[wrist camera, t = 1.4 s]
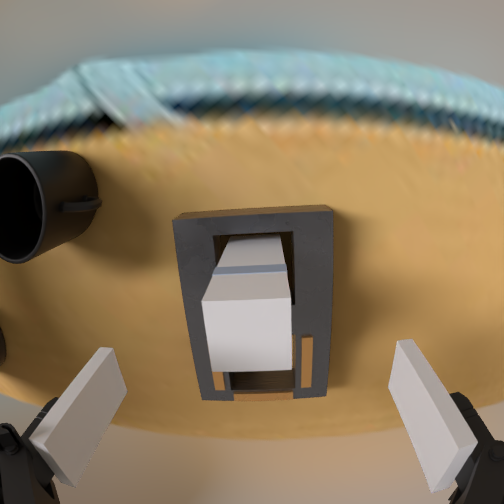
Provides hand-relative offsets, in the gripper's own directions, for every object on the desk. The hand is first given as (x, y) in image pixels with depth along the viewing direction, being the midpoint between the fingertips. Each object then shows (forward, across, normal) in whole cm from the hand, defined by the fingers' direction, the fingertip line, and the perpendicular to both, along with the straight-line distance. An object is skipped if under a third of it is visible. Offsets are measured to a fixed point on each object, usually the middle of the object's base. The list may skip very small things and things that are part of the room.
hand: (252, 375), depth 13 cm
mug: (+17, -19, +8) cm, 27 cm away
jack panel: (+17, 0, -5) cm, 18 cm away
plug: (+17, 0, 0) cm, 17 cm away
